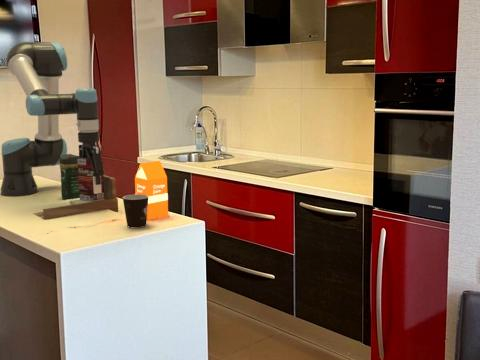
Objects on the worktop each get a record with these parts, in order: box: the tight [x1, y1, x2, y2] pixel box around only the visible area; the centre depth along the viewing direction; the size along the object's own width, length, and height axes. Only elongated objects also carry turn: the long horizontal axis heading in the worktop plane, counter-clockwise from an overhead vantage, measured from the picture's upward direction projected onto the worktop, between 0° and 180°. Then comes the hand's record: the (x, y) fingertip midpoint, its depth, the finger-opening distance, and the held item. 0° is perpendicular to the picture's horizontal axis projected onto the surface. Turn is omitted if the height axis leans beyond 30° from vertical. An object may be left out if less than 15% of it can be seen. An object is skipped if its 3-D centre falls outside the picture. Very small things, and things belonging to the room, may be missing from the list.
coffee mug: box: [122, 193, 148, 228], centre depth 202 cm, size 12×9×10 cm
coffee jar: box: [59, 153, 80, 201], centre depth 245 cm, size 10×8×19 cm
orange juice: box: [134, 160, 169, 221], centre depth 214 cm, size 8×9×20 cm
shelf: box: [32, 174, 119, 221], centre depth 219 cm, size 12×28×12 cm, turn 128°
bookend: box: [69, 199, 93, 205], centre depth 222 cm, size 8×3×9 cm
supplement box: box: [77, 157, 104, 202], centre depth 222 cm, size 9×5×16 cm, turn 62°
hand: (91, 191), depth 223 cm, fingers closed on supplement box, 9 cm apart
